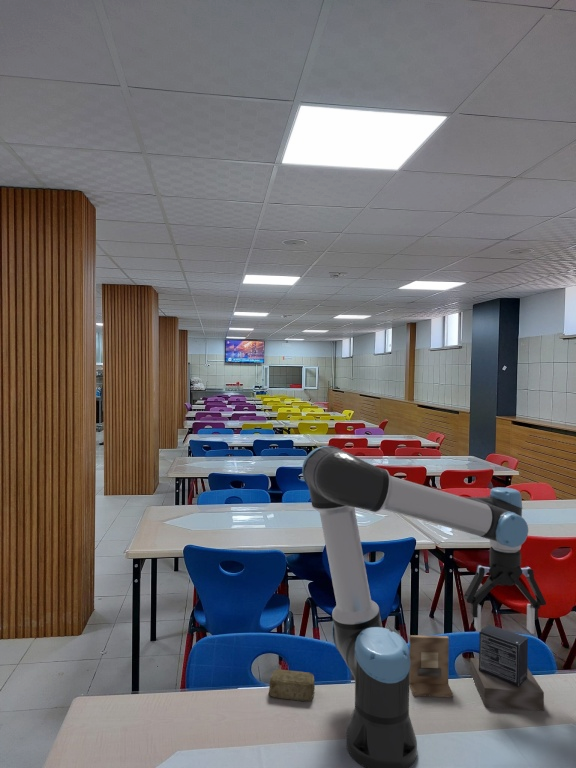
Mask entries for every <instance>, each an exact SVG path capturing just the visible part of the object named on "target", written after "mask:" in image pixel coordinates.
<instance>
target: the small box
mask: <svg viewBox="0 0 576 768" xmlns="http://www.w3.org/2000/svg"><path fill="white" fill-rule="evenodd" d="M478 634H479V636H478V637H479V641H478V642H479V644H478V645H479V646H478V647H479V648H478V649H479V650H478V654H479V655H478V656H479V657H478V659H479V671H482V672H484V673H487V674H489V675H491V676H494V677H496V678H499V679H501V680H504V681H506V682H508V683H511V684H513V685H516V686H520V685H521V684H522V683H523V682H524V681H525V680H526V679H527V668H528V660H529V659H528V654H529V652H528V651H529V650H528V648H529V645H528V644H529V638H528V637H527V636H526V635H521V634H519V633H516V632H513V631H509V630H507V629H504V628H501V627H499V626H495V625H493V624H492V625H491V624H487V625H486V626H484V627H483V628H481V632H479V633H478Z"/></svg>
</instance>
